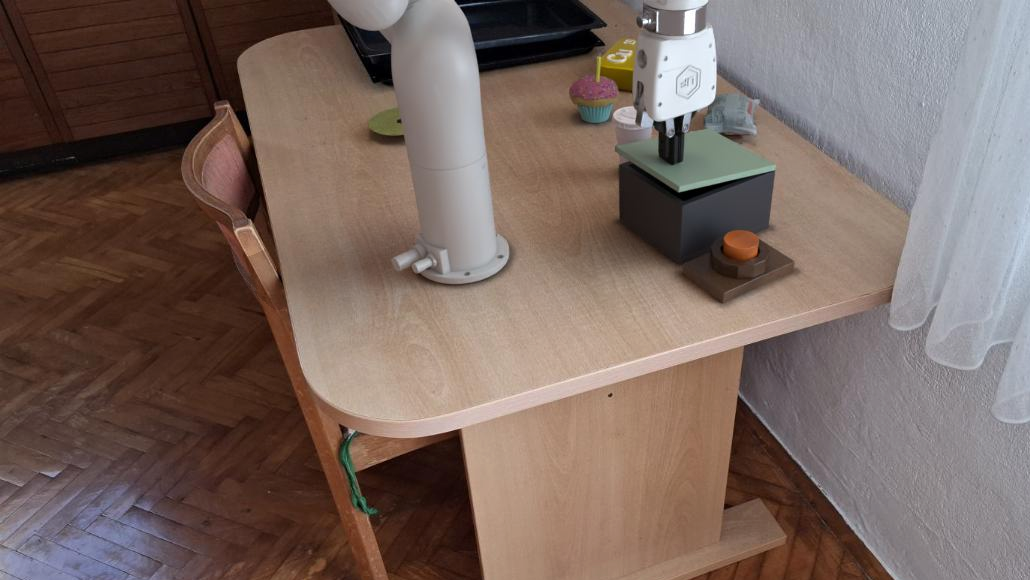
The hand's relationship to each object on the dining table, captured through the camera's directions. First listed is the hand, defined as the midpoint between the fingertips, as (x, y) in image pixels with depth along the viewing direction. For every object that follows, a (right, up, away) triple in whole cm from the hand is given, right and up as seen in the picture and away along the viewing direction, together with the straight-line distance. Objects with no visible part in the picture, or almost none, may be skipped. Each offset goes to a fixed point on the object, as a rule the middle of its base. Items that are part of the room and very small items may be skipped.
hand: (670, 159), depth 111 cm
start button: (+9, -12, -2) cm, 15 cm away
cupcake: (-10, +15, +37) cm, 42 cm away
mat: (-43, +12, +35) cm, 56 cm away
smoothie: (-4, +2, +21) cm, 22 cm away
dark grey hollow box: (+4, -7, +9) cm, 12 cm away
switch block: (+9, -15, 0) cm, 17 cm away
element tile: (-1, +26, +51) cm, 57 cm away
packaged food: (+13, +12, +33) cm, 37 cm away
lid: (+3, 0, +3) cm, 4 cm away
